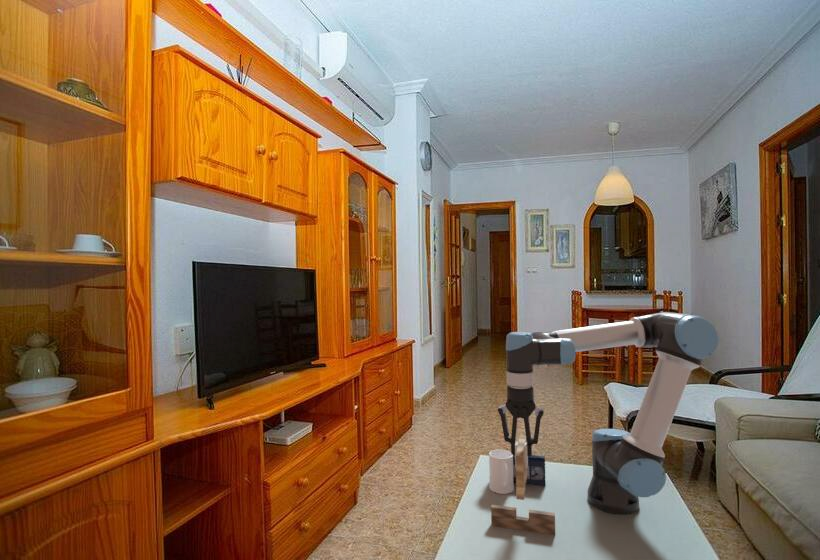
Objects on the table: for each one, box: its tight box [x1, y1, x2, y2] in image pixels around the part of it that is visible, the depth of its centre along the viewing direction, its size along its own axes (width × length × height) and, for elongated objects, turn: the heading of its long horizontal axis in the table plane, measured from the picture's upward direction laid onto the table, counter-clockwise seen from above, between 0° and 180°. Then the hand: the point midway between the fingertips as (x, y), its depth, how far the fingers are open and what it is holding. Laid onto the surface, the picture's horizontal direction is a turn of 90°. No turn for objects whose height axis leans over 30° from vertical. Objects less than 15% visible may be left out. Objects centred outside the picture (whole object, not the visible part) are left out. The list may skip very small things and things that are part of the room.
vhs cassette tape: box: [513, 454, 547, 487], centre depth 158 cm, size 18×3×10 cm, turn 72°
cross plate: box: [515, 435, 527, 501], centre depth 129 cm, size 16×2×12 cm, turn 162°
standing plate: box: [490, 504, 556, 536], centre depth 129 cm, size 18×2×6 cm, turn 73°
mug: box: [488, 449, 515, 495], centre depth 152 cm, size 12×8×12 cm
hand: (521, 465), depth 129 cm, fingers closed on cross plate, 2 cm apart
